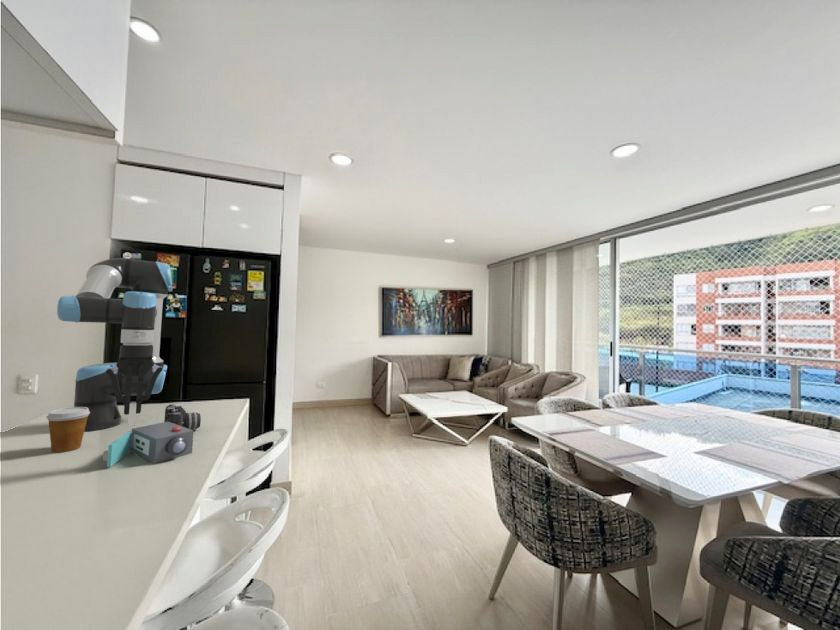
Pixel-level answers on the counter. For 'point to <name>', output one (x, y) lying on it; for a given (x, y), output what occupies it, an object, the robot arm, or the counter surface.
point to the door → (118, 449)
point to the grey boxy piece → (161, 441)
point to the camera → (182, 417)
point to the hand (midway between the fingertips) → (131, 425)
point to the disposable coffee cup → (67, 428)
